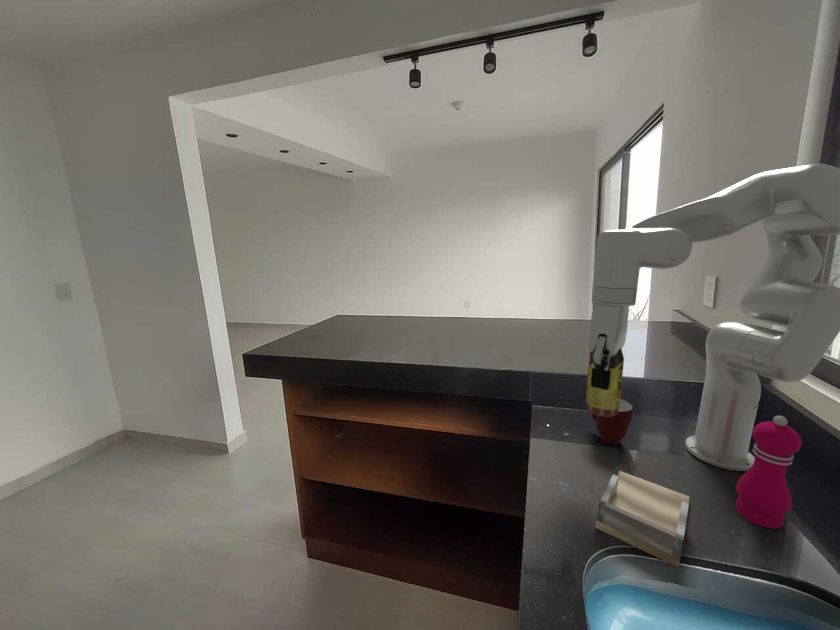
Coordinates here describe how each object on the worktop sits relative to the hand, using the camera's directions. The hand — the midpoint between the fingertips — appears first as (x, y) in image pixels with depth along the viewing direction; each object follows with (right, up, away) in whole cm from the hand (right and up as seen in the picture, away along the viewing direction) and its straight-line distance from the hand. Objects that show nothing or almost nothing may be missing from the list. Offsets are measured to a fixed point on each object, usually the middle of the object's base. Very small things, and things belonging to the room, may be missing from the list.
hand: (604, 381), depth 72 cm
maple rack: (+4, -23, -7) cm, 25 cm away
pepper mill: (+24, -23, -7) cm, 35 cm away
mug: (+10, -18, +18) cm, 27 cm away
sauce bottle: (0, -7, +1) cm, 7 cm away
